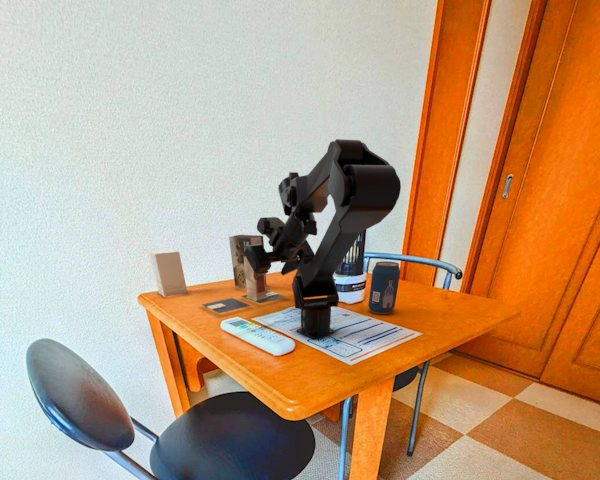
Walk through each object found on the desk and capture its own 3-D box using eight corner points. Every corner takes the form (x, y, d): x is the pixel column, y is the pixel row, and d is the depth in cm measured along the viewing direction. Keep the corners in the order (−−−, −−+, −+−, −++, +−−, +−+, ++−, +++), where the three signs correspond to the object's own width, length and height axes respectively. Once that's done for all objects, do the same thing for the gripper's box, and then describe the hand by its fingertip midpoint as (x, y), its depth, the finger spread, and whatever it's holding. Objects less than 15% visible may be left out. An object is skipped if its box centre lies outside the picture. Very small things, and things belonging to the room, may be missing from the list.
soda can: (377, 305, 89) (383, 260, 82) (398, 310, 84) (406, 263, 78) (362, 310, 85) (367, 263, 78) (384, 316, 80) (392, 267, 74)
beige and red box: (266, 298, 92) (264, 257, 86) (257, 300, 90) (253, 259, 84) (256, 294, 95) (253, 255, 89) (247, 296, 93) (243, 256, 87)
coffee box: (267, 289, 105) (264, 235, 96) (255, 293, 101) (250, 237, 92) (247, 285, 109) (242, 233, 100) (234, 289, 105) (228, 235, 96)
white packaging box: (188, 294, 100) (179, 251, 93) (164, 298, 96) (153, 253, 89) (181, 290, 105) (172, 248, 98) (158, 293, 101) (147, 250, 94)
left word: (251, 308, 87) (250, 304, 86) (219, 316, 82) (218, 311, 81) (232, 301, 93) (232, 296, 93) (201, 308, 88) (201, 303, 87)
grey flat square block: (287, 300, 94) (287, 295, 93) (260, 306, 89) (259, 302, 88) (267, 293, 100) (267, 289, 100) (241, 299, 95) (240, 295, 94)
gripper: (307, 203, 77) (281, 248, 90) (244, 204, 67) (224, 254, 80) (329, 241, 76) (299, 280, 89) (268, 248, 66) (245, 292, 79)
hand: (268, 276), depth 84 cm, fingers open, 9 cm apart
